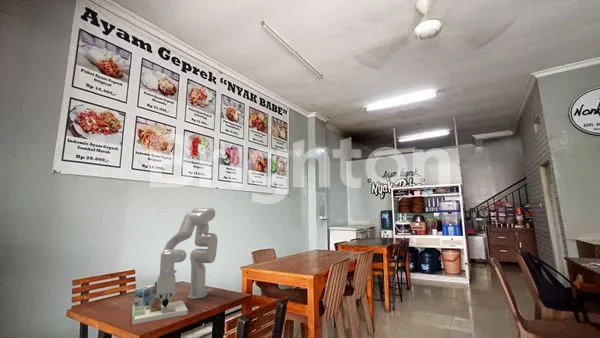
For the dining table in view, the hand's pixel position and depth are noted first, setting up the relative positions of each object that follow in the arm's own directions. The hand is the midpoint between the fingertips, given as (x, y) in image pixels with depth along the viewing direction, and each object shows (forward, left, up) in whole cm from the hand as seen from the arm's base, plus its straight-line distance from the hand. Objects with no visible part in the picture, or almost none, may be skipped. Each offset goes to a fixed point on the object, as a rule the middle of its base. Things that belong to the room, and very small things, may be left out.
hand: (165, 306), depth 163 cm
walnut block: (+5, 0, -1) cm, 5 cm away
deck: (+3, 0, -4) cm, 5 cm away
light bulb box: (+10, -23, -4) cm, 25 cm away
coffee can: (0, -16, -4) cm, 17 cm away
